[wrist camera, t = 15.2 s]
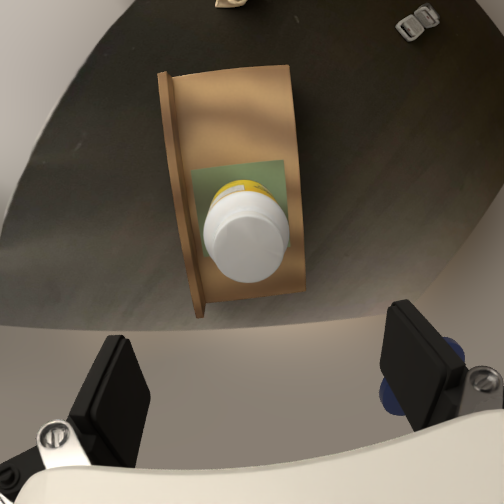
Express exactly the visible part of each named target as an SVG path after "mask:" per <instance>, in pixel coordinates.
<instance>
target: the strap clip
mask: <svg viewBox="0 0 504 504" xmlns="http://www.w3.org/2000/svg"><path fill="white" fill-rule="evenodd" d="M425 6H428V7H429V8H430V9H431V10H430V9H429V8H428V7H425ZM414 14H415V16H416V17H417V18H416V17H415V16H413V15H410V16H408V17H406V18H405V19H403V20H401V21H400V22H398V24H397V25H396V29H397V30H398V31H399V32H400V34H401V35H402V36H403V37H404V38H405V39H406V40H407V41H412V40H414V39H416V38H417V37H418V36H419V35H420V34H421V33H422V32H423V31H424V27H426V28H430V27H434V26H436V25H438V24H439V20H438V19H439V17H440V16H439V15H438V13H437V12H436V11H435V10H434V9H433V7H432V6H431V5H430V4H429V3H426V4H423V5H422V6H420V7H419V8H418V9H417V10H416V11H415V12H414ZM418 20H419V21H420V22H421V23H422V24H421V23H420V22H419V21H418ZM435 22H436V23H435ZM401 25H402V26H403V27H404V28H405V29H406V31H407V32H408V33H409V34H410V35H411V37H412V38H409V37H408V35H407V34H406V33H405V32H404V31H403V30H402V28H401V27H400V26H401ZM423 26H424V27H423Z"/></svg>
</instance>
